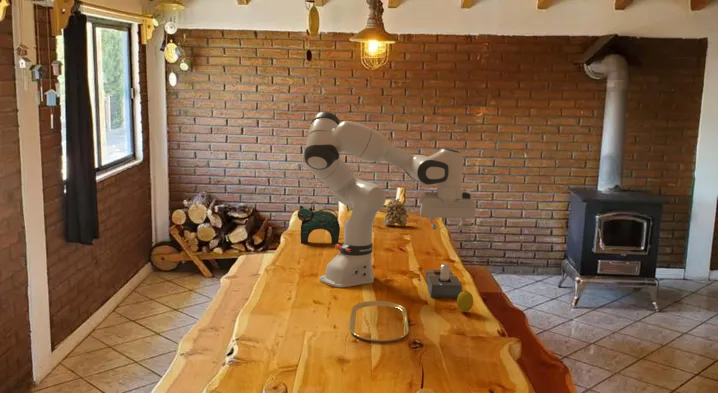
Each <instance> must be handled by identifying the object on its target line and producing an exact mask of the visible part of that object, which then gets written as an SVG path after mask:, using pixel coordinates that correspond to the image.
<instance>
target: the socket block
mask: <svg viewBox="0 0 718 393" xmlns="http://www.w3.org/2000/svg"><path fill="white" fill-rule="evenodd" d="M424 275H425V279H424V280H425V282H426V284H427V286H428V276H440V275H441V269H428V268H427V269H425V274H424ZM449 276H455V275H454V273H453V270H451V269H449Z"/></svg>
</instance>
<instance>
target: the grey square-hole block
mask: <svg viewBox="0 0 718 393" xmlns="http://www.w3.org/2000/svg"><path fill="white" fill-rule="evenodd" d="M462 289H463V285H462V283H461V282H460V280H459V278H458V276H457V275H454V276H449V282H440V276H428V285H427V291H428V293H429V296H430V298H431V299H457V298H458V295H459V294H460V293H461V292H462Z"/></svg>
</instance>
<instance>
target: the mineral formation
mask: <svg viewBox="0 0 718 393" xmlns="http://www.w3.org/2000/svg"><path fill="white" fill-rule="evenodd" d="M385 211H386V213H385V215H384V220H383V224H384V225H385V226H388V227H389V226H390V225H395V224H397V225H399V226H401V227H405V226H406V225H407V223H408V221H407V219H408V218H410V217H409V216H410V215H409V214H408V212H407V210H406V207H405V205H404V204H403V203H402V201H400V199H399V198H396V199H392V200H390V201H388V202H387V205H386V206H385Z"/></svg>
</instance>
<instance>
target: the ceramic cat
mask: <svg viewBox="0 0 718 393" xmlns="http://www.w3.org/2000/svg"><path fill="white" fill-rule="evenodd" d="M313 203H316V204H318V205H320V203H319V202H318V201H316V200H315V201H312V202H311V204H310V207H308V206H303V205H300V206H299V209H298V212H297V219H298V220H300V221H301V225H300V244H308V243H309V237H310V235H311V233H312V232H313V231H315V230H324V231H326V232H328V233H329V234H330V240H331V244H334V245H336V244H339V240H340V232H341V231H340V230H341V225H340V223H339V219H338V217H339V216H338V214H337V213H336V211H335V210H333V209H331V208H322V209H318V210H316V209H313V206H312V205H313Z"/></svg>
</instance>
